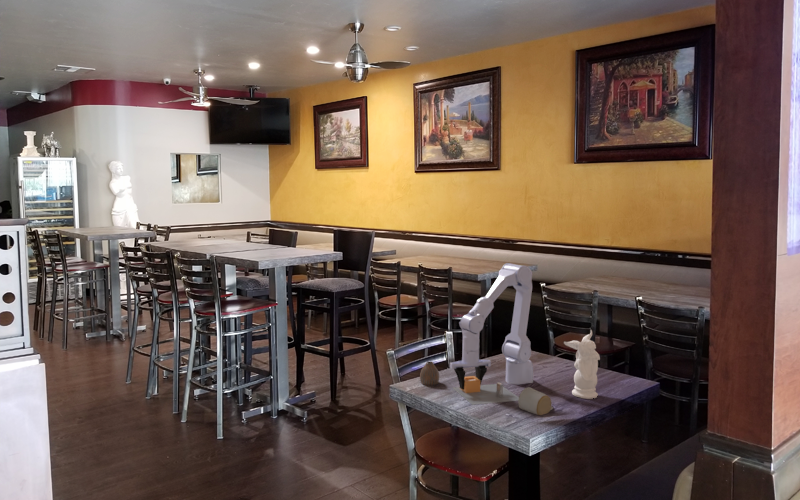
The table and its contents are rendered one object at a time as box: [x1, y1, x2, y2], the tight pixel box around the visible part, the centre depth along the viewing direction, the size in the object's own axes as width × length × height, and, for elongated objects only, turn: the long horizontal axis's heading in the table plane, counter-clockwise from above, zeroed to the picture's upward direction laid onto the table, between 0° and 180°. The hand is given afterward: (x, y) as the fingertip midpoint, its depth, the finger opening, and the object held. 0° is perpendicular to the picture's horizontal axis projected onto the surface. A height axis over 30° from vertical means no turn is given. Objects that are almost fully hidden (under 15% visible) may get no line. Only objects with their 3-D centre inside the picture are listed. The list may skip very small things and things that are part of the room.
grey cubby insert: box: [496, 381, 504, 398], centre depth 207 cm, size 1×2×4 cm, turn 16°
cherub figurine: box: [563, 329, 601, 400], centre depth 214 cm, size 12×12×22 cm
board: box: [452, 383, 519, 406], centre depth 211 cm, size 18×18×1 cm
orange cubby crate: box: [460, 375, 480, 393], centre depth 214 cm, size 5×5×4 cm
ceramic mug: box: [517, 386, 554, 418], centre depth 196 cm, size 11×8×8 cm
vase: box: [419, 361, 440, 387], centre depth 221 cm, size 7×7×9 cm
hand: (469, 387), depth 214 cm, fingers closed on orange cubby crate, 5 cm apart
